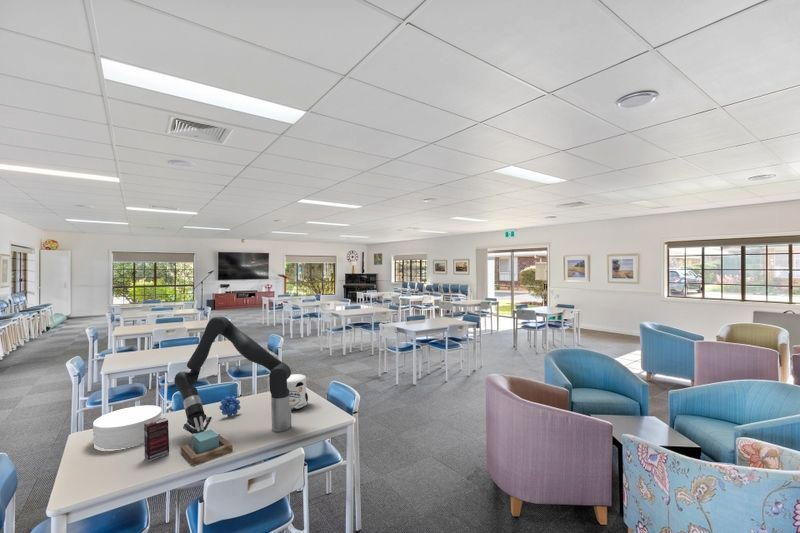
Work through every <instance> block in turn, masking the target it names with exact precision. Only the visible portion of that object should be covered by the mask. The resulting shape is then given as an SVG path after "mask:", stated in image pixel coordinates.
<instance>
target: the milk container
mask: <svg viewBox="0 0 800 533" xmlns="http://www.w3.org/2000/svg"><path fill="white" fill-rule="evenodd" d="M287 388H288V389H289V397H290V409H291V411H296V410H300V409H302V408H304V407H306V405H308V401H309V394H308V392H307V377H306V375H304V374H300V373H299V374H298V373H297V374H295V373H294V374H293V373H292V374H291V375H290V377H289V378H288V379H287Z"/></svg>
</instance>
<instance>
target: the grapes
mask: <svg viewBox="0 0 800 533" xmlns="http://www.w3.org/2000/svg"><path fill="white" fill-rule="evenodd" d="M240 403H241V401H240V399H237V397H236V396H234V395H233V396H230V395H227V396H225V398H224V399H222V400H220V404H221V405H220V406H219V410H221V414H222V415H223V416H224V415H226V416H227V417H230V418H231V417H232V416H233V415H234V416H235V415H237V414H238V411H239V410H240V409H241V405H240Z"/></svg>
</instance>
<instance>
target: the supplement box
mask: <svg viewBox="0 0 800 533" xmlns="http://www.w3.org/2000/svg"><path fill="white" fill-rule="evenodd" d="M169 434H170V433H169V419H167V418H166V417H164V418H162V419H159V420H156V421H152V422H149V423H145V424H144V443H145V444H144V459H145V460H146V461H147V460H148V461H149V462H151V461H154V460H157V459H160V458H163V457H165V456H167V455H169V454H170V438H169V437H170V435H169ZM159 457H160V458H159ZM156 458H157V459H156ZM150 460H151V461H150ZM148 461H147V462H148Z"/></svg>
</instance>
